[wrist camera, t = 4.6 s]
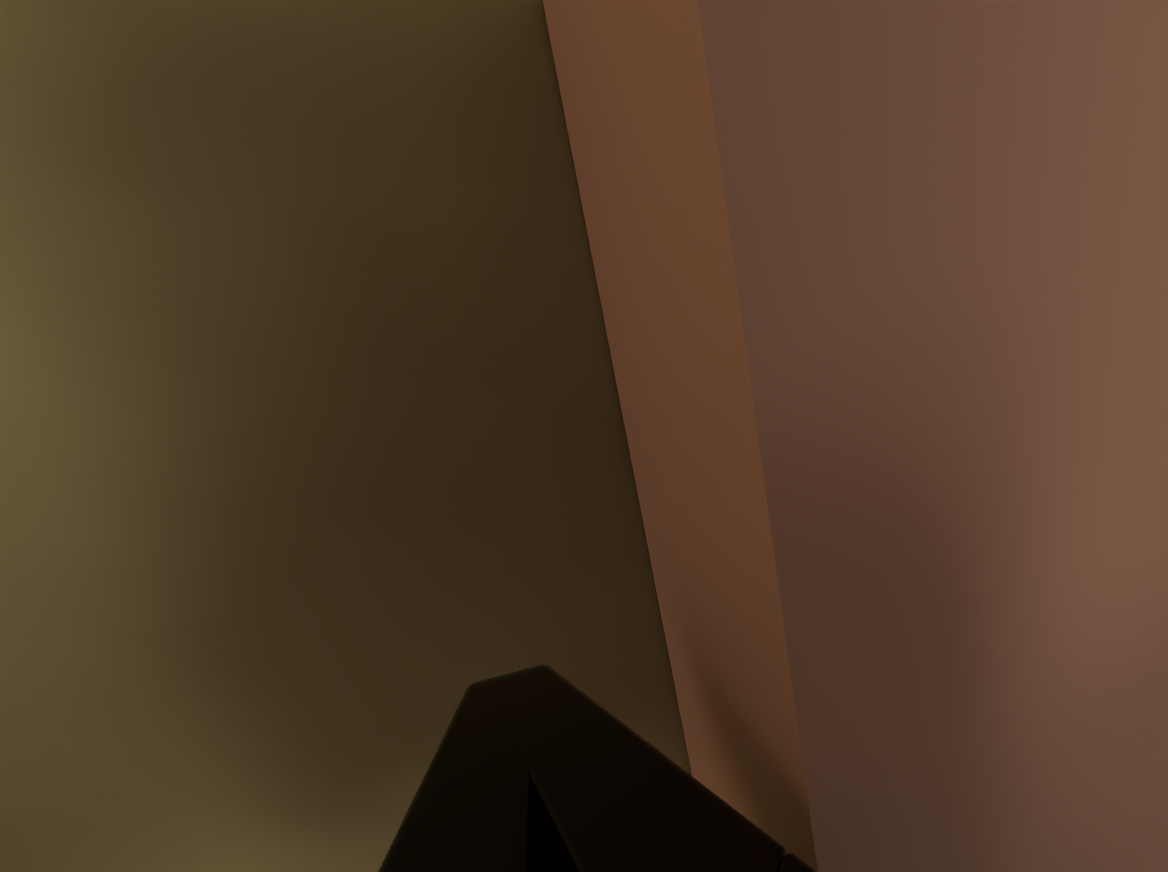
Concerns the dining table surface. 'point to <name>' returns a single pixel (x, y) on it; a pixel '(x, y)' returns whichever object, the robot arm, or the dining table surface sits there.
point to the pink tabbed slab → (896, 408)
